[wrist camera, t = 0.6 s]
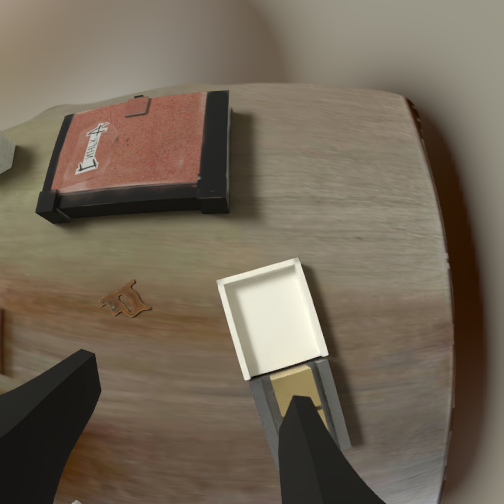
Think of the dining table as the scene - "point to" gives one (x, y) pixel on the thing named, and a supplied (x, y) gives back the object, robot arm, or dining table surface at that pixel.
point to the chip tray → (271, 318)
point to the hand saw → (118, 306)
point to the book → (141, 158)
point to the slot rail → (329, 404)
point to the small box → (6, 152)
